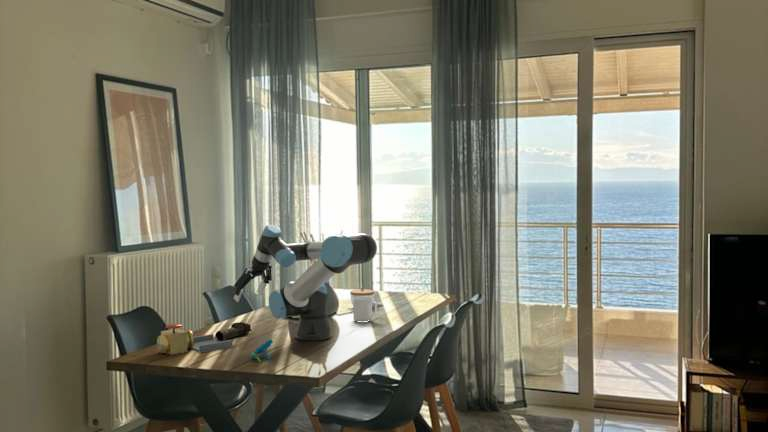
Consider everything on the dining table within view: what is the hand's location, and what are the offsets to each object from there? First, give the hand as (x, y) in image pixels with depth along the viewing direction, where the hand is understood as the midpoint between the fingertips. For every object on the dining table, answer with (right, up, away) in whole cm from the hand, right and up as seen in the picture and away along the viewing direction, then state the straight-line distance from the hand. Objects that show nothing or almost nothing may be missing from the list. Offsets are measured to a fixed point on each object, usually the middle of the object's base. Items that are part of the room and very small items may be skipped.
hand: (247, 296), depth 302 cm
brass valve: (-22, -17, -36) cm, 45 cm away
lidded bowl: (+49, -13, +59) cm, 77 cm away
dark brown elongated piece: (-4, -17, -9) cm, 19 cm away
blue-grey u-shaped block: (-11, -17, -26) cm, 33 cm away
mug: (+51, -15, +24) cm, 59 cm away
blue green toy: (+14, -18, -47) cm, 52 cm away
